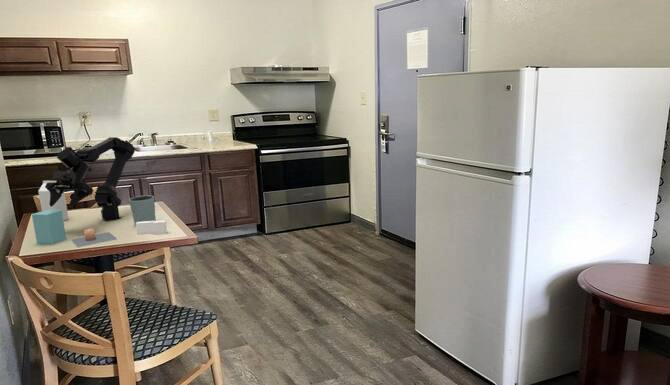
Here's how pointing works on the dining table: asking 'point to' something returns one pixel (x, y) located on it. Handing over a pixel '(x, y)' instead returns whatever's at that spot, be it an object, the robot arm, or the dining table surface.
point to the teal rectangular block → (49, 226)
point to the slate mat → (99, 238)
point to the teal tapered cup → (143, 208)
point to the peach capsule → (89, 234)
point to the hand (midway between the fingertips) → (60, 206)
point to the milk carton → (45, 201)
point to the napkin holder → (151, 227)
